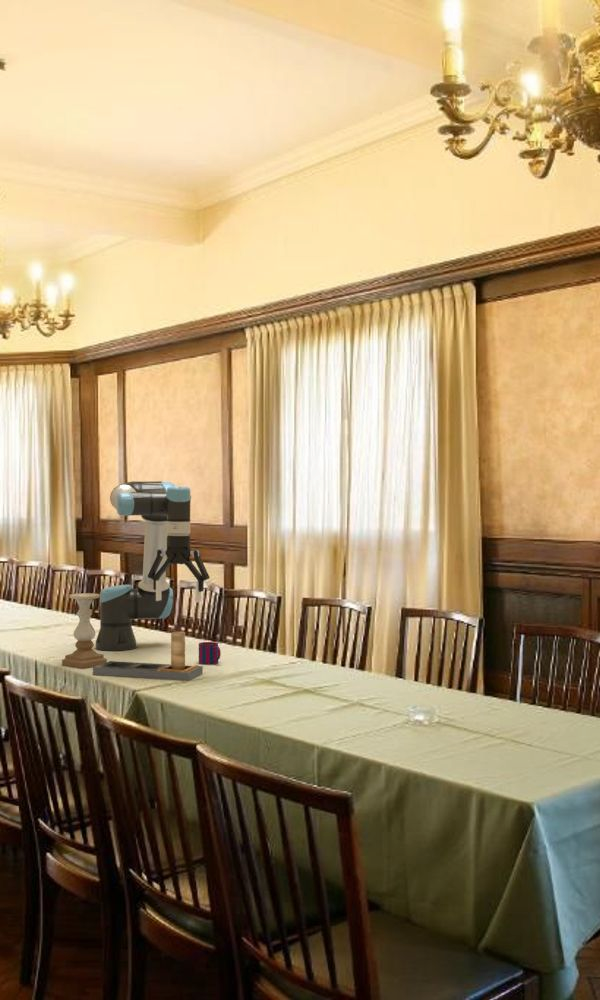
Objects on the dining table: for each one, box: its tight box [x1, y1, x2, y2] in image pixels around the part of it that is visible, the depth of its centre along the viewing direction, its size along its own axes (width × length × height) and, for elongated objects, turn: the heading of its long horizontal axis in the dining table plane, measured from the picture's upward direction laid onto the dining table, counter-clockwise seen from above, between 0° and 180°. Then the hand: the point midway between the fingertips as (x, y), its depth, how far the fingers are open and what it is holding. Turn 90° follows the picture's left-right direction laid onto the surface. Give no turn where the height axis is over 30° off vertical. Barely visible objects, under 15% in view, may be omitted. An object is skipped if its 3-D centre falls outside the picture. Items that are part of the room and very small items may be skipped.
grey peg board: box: [92, 660, 204, 682], centre depth 326 cm, size 12×33×3 cm, turn 74°
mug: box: [198, 641, 222, 666], centre depth 346 cm, size 7×10×7 cm
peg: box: [170, 631, 186, 670], centre depth 323 cm, size 4×4×14 cm
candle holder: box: [61, 592, 108, 669], centre depth 343 cm, size 11×11×24 cm
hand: (178, 601), depth 323 cm, fingers open, 13 cm apart
